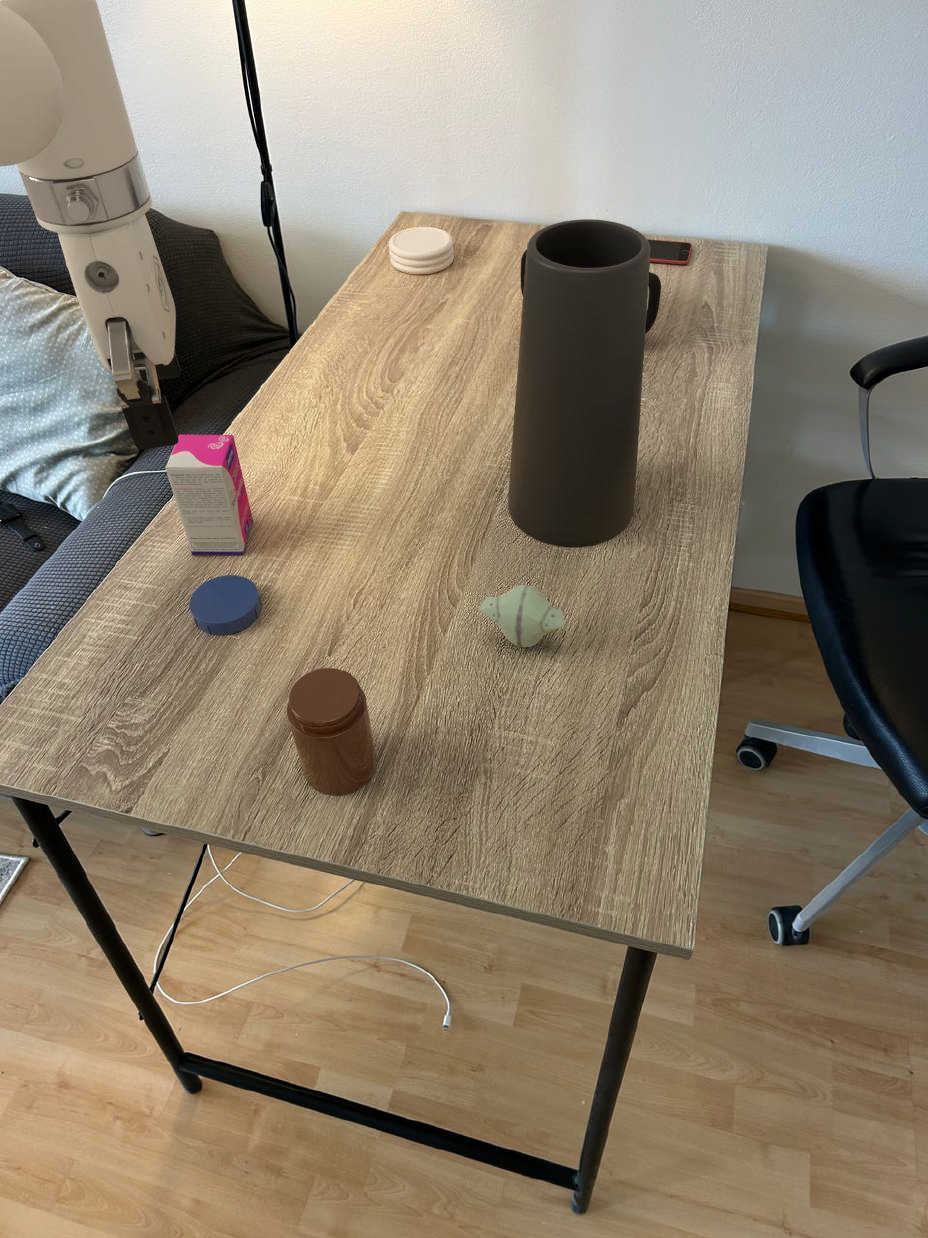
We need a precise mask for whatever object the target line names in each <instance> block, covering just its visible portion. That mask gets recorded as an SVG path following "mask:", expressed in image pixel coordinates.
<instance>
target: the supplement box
mask: <svg viewBox="0 0 928 1238" xmlns="http://www.w3.org/2000/svg"><path fill="white" fill-rule="evenodd" d="M178 437H179V439H178V443H177V444H176V445H173V446H174V447H173V449H172V451H171V453H170V456H169V458H168V461H167V464H166V466H165V467H164V468H165V471H166V475H167V478H168V481H169V483H170V487H171V491H172V494H173V498H174V501H175V504H176V507H177V510H178V514H179V517H180V521H181V523H182V526H183V530H184V533H185V536H186V540H187V542H188V546H189V550H190V554H191V556H243V555H244V554H245V551H246V546H247V542H248V539H249V535H250V531H251V528H252V527H253V523H254V518H253V513H252V510H251V509H252V508H251V505H250V501H249V496H248V493H247V492H248V491H247V488H246V484H245V479H244V475H243V470H242V467H241V463H240V458H239V454H238V449H237V445H236V441H235V435H234V434H178Z"/></svg>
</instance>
